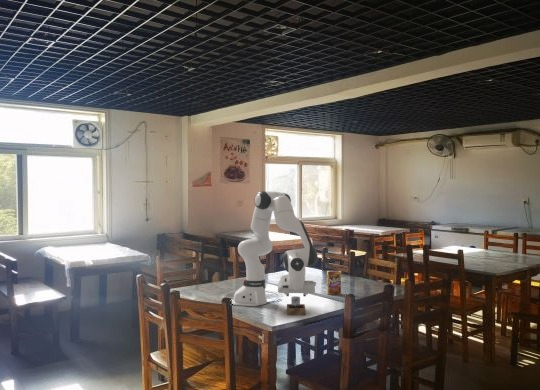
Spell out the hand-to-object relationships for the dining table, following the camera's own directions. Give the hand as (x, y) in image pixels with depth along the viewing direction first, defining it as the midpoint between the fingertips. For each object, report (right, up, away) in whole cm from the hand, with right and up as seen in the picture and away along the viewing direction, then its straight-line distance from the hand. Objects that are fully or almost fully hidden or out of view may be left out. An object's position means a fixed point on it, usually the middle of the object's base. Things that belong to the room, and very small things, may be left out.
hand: (296, 295), depth 259 cm
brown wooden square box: (0, -10, +3) cm, 11 cm away
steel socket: (0, -9, +3) cm, 10 cm away
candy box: (+28, -10, +49) cm, 57 cm away
